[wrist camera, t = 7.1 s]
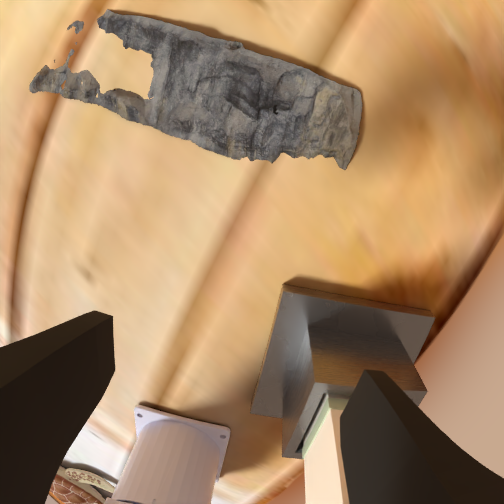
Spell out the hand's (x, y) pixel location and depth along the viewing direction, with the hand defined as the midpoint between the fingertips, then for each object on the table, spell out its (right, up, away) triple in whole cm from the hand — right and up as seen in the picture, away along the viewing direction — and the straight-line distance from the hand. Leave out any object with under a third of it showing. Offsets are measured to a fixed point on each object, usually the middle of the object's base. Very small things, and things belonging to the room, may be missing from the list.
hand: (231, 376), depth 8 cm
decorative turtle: (-24, -29, +23) cm, 44 cm away
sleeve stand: (+6, -4, +12) cm, 14 cm away
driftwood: (-3, +13, +8) cm, 16 cm away
